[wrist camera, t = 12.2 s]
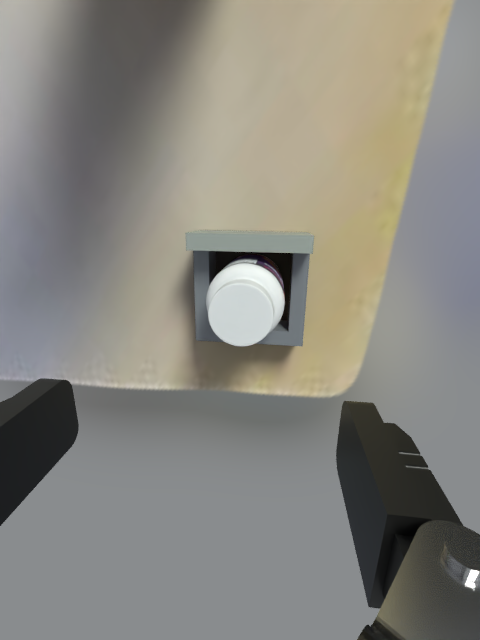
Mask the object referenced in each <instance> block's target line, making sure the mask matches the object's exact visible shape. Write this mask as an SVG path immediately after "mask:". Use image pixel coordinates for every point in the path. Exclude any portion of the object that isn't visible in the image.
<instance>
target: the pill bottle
mask: <svg viewBox="0 0 480 640" xmlns="http://www.w3.org/2000/svg"><path fill="white" fill-rule="evenodd" d="M284 305H285V296H284V283H283V278H282V275H281V272H280V270H279V268H278V267H277V265H276V264H275V263H274V262H273V261H272V260H270V259H269V258H267V257H265V256H263V255H259V254H245V255H242V256H239V257H237V258H235V259H234V260H233V261H231V262H230V263H229V264H228V265H227V266H226V267H225V268H224V269H223V270H222V271H220V272H219V273H218V274H217V275H216V276H215V278H214V279H213V281H212V282H211V284H210V286H209V288H208V292H207V296H206V306H207V311H208V319H209V323H210V326H211V328H212V330H213V331H214V333H215V334H216V335H217V336H218V337H219V338H220V339H221V340H223V341H224V342H226V343H228V344H230V345H234V346H250V345H253V344H255V343H258V342H259V341H261V340H262V339H263V338H264V337H265V336H266V335H267V334H268V333H270V332H271V331H272V330H273V329H274V328H275V327H276V326H277V324H278V323H279V321H280V319H281V317H282V315H283V311H284Z"/></svg>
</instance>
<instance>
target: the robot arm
mask: <svg viewBox="0 0 480 640" xmlns="http://www.w3.org/2000/svg"><path fill="white" fill-rule="evenodd" d="M77 434H78V419H77V413H76V407H75V401H74V395H73V389H72V385H71V384H70V382H69V381H67V380H57V379H39V380H37V381H35V382H34V383H32V384H31V385H30V386H28V387H26V388H25V389H24V390H22V391H21V392H19V393H18V394H16V395H15V396H13V397H12V398H9V399H7V400H5V401H2V402H0V526H1V524H2V523H3V522H4V521H5V520H6V519H7V518H8V517H9V516H10V514H11V513H12V512H13V511H14V510H15V509H16V508H17V507H18V506H19V505H20V503H21V502H22V501H23V500H24V499H25V498H26V497H27V496H28V494H29V493H30V492H31V491H32V490H33V489H34V488H35V487H36V486H37V484H38V483H39V482H40V481H41V480H42V479H43V478H44V477H45V475H46V474H47V473H48V472H49V471H50V470H51V469H52V468H53V467H54V465H55V464H56V463H57V462H58V461H59V460H60V459H61V458H62V456H63V455H64V454H65V453H66V452H67V451H68V450H69V449H70V448H71V446H72V445H73V444H74V442H75V440H76V437H77ZM336 457H337V459H336V460H337V470H338V475H339V479H340V484H341V488H342V493H343V497H344V502H345V506H346V510H347V514H348V519H349V523H350V528H351V532H352V536H353V541H354V545H355V550H356V554H357V558H358V562H359V566H360V571H361V575H362V579H363V584H364V589H365V593H366V597H367V602H368V606H369V607H373V608H380V610H379V613H378V615H377V617H376V619H375V621H374V622H373V624H372V625H371V627H370V626H369V625H366V626H365V628H364V629H363V630H362V632H361V634H360V635H359V637H358V639H357V640H480V534H478V533H476V532H475V531H473V530H471V529H469V528H467V527H465V526H463V524H462V523H461V521H460V519H459V518H458V516H457V514H456V513H455V511H454V509H453V507H452V506H451V504H450V503H449V501H448V499H447V497H446V496H445V494H444V492H443V491H442V489H441V487H440V486H439V484H438V482H437V481H436V479H435V477H434V475H433V474H432V472H431V471H430V470H428V465H427V464H426V462H425V460H424V459H423V457H422V456H420V452H419V450H418V449H417V447H416V445H415V443H414V442H413V440H412V438H411V437H410V436H409V435H407V434H406V433H405V432H404V431H403V430H402V429H400V428H399V427H398V426H397V425H396V424H394V423H383V420H382V418H381V416H380V415H379V413H378V411H377V409H376V407H375V405H374V404H373V403H367V402H352V401H344V403H343V405H342V411H341V419H340V426H339V434H338V443H337V453H336Z"/></svg>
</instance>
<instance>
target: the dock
mask: <svg viewBox="0 0 480 640" xmlns="http://www.w3.org/2000/svg"><path fill="white" fill-rule="evenodd" d="M313 243H314V235H312V234H310V233H308V232H273V231H222V230H199V231H194V232H188V233H186V250H193V256H194V289H195V323H196V340H198V341H216V342H224V341H223V340H221V339H220V338H219V337H218V336H217V335H216V334H215V333H214V331H213V330H212V328H211V326H210V323H209V319H208V311H207V306H206V296H207V292H208V288H209V286H210V284H211V282H212V281H213V279H214V278H215V276H216V251H234V252H271V253H292V257H291V273H290V289H289V305H288V321H287V320H280V321H279V323H278V324H277V326H276V327H275V328H274V329H273V330H272V331H271V332H270V333H268V334H267V335H266V336H265V337H264V338H263V339H262V340H261V341H259V342H258V343H255V344H270V345H288V346H302V345H303V332H304V320H305V307H306V294H307V282H308V269H309V256H310V254H313Z"/></svg>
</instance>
